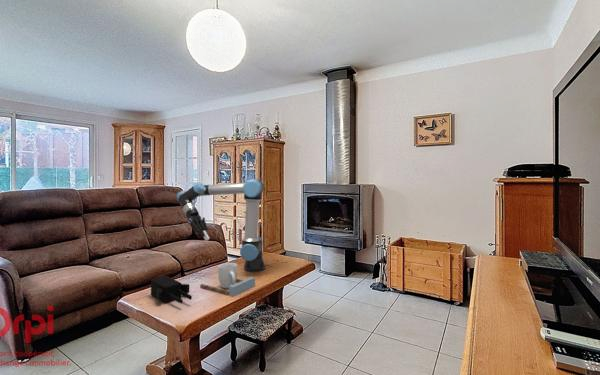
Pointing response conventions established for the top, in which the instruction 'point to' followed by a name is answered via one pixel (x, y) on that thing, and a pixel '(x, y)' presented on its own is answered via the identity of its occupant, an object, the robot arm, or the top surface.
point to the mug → (227, 274)
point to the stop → (241, 286)
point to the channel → (217, 288)
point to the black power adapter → (169, 289)
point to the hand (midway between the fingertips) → (207, 239)
